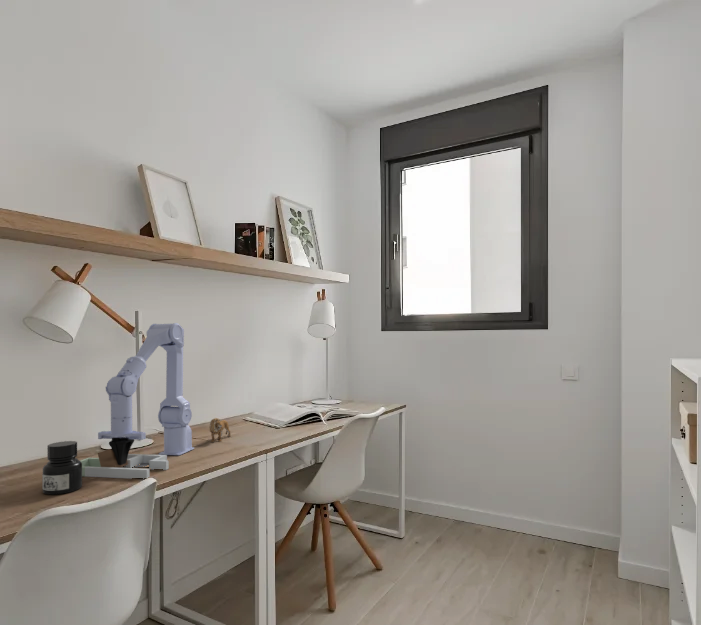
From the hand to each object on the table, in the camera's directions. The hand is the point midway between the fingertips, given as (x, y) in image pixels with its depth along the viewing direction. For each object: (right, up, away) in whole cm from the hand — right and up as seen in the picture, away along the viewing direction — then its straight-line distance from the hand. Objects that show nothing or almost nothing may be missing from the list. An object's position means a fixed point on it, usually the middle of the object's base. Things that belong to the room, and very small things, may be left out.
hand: (121, 464), depth 145 cm
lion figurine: (+18, -4, +42) cm, 46 cm away
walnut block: (-2, -2, +1) cm, 3 cm away
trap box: (-1, -3, +3) cm, 4 cm away
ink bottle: (-8, -2, -16) cm, 18 cm away
